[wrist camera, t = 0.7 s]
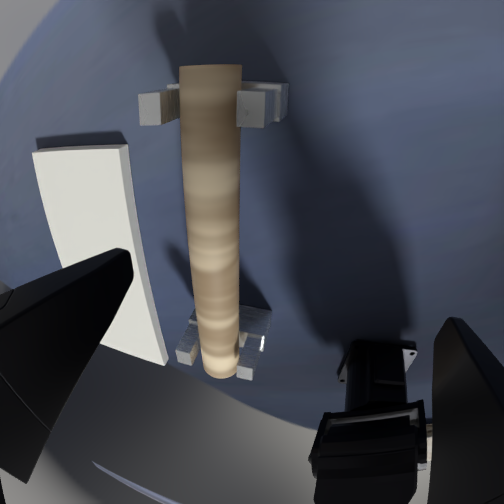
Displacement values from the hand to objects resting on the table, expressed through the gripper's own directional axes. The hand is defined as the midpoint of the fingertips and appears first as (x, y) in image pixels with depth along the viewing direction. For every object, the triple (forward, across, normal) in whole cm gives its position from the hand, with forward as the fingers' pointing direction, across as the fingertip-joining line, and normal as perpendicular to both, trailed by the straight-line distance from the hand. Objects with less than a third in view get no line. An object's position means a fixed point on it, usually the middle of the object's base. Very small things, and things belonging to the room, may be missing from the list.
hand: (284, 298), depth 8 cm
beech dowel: (+9, +5, +6) cm, 12 cm away
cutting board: (+13, +19, +13) cm, 26 cm away
